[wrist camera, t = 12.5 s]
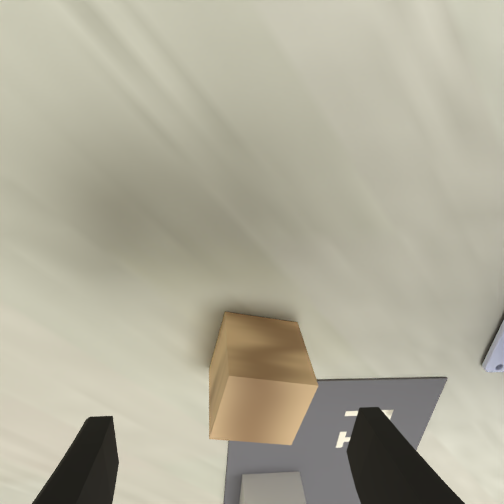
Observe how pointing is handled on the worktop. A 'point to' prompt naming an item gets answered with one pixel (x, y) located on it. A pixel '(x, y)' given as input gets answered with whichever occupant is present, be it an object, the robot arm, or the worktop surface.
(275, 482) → the grey block
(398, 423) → the mat
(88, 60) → the worktop surface
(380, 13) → the worktop surface
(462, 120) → the worktop surface
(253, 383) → the oak block
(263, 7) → the worktop surface
